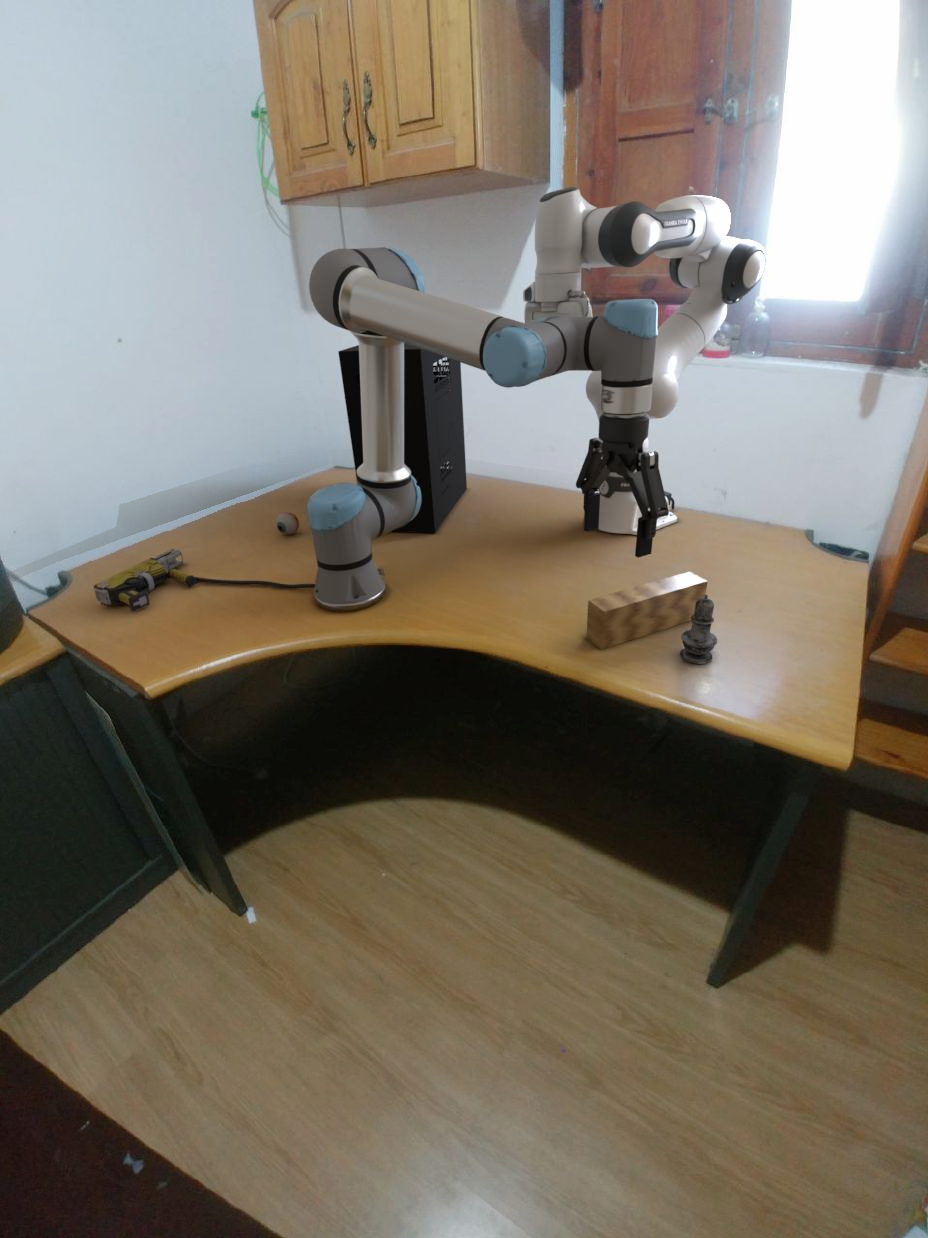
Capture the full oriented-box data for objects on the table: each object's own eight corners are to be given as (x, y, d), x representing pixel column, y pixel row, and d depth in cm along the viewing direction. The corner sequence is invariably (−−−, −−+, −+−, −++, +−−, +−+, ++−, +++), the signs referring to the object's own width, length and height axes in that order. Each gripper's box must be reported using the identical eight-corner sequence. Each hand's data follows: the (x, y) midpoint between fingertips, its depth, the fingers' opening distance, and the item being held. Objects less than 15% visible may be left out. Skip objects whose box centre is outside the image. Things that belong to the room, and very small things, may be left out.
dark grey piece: (716, 666, 102) (728, 603, 96) (680, 663, 103) (689, 601, 97) (711, 647, 107) (722, 587, 101) (676, 645, 108) (685, 585, 102)
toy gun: (219, 557, 146) (169, 546, 150) (142, 598, 126) (87, 585, 129) (222, 574, 148) (172, 563, 152) (147, 618, 128) (92, 604, 132)
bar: (683, 606, 120) (689, 571, 116) (701, 617, 116) (707, 580, 112) (585, 637, 112) (588, 600, 108) (601, 649, 108) (604, 611, 104)
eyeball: (273, 537, 164) (268, 516, 161) (287, 528, 169) (282, 508, 166) (291, 539, 161) (286, 518, 158) (305, 530, 166) (301, 510, 163)
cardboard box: (435, 533, 160) (420, 348, 138) (363, 530, 165) (338, 351, 142) (466, 488, 192) (459, 332, 169) (406, 486, 196) (390, 334, 174)
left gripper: (557, 405, 101) (555, 524, 111) (663, 430, 81) (649, 573, 92) (593, 399, 104) (588, 516, 114) (705, 422, 84) (686, 561, 94)
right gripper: (603, 289, 109) (599, 370, 116) (545, 289, 126) (545, 360, 133) (573, 292, 107) (571, 374, 114) (518, 291, 124) (520, 363, 131)
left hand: (615, 541), depth 103 cm, fingers open, 13 cm apart
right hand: (557, 366), depth 124 cm, fingers open, 8 cm apart
